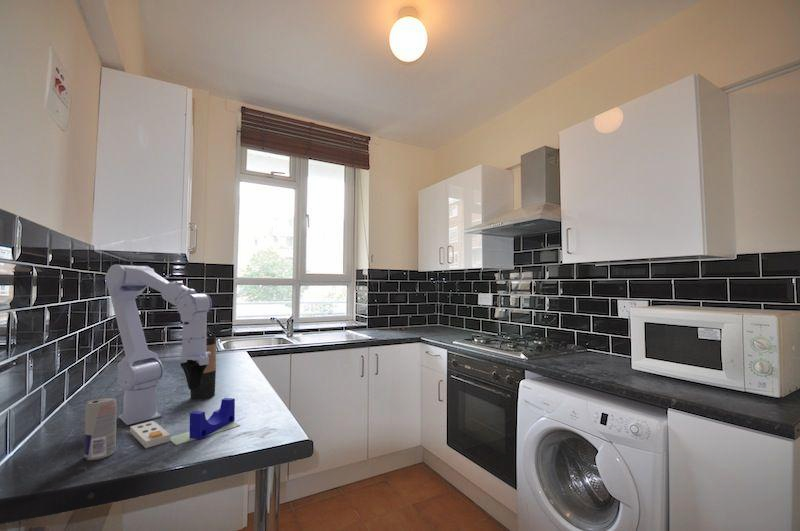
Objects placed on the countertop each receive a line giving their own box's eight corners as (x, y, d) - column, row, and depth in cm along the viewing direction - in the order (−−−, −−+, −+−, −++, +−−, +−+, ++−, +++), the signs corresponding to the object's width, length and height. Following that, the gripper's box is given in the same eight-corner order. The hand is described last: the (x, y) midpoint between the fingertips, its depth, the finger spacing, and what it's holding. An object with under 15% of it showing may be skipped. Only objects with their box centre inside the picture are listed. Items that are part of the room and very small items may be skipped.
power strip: (130, 432, 92) (130, 424, 92) (153, 426, 96) (153, 418, 96) (145, 448, 83) (145, 438, 83) (170, 440, 87) (170, 431, 87)
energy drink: (96, 450, 82) (97, 396, 83) (121, 448, 83) (122, 395, 83) (77, 461, 77) (79, 404, 77) (104, 460, 77) (105, 403, 78)
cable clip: (220, 419, 99) (221, 397, 100) (234, 420, 98) (234, 398, 98) (184, 437, 88) (184, 412, 88) (199, 439, 87) (199, 414, 87)
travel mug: (220, 395, 122) (220, 336, 123) (197, 401, 116) (198, 339, 117) (207, 392, 126) (208, 334, 127) (185, 398, 120) (185, 337, 121)
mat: (167, 438, 88) (167, 437, 88) (230, 420, 99) (230, 419, 99) (176, 445, 84) (176, 444, 84) (239, 425, 95) (239, 424, 95)
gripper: (220, 338, 96) (220, 389, 95) (200, 333, 106) (199, 380, 105) (192, 341, 91) (191, 396, 90) (173, 336, 100) (172, 386, 100)
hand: (193, 388), depth 97 cm, fingers closed
